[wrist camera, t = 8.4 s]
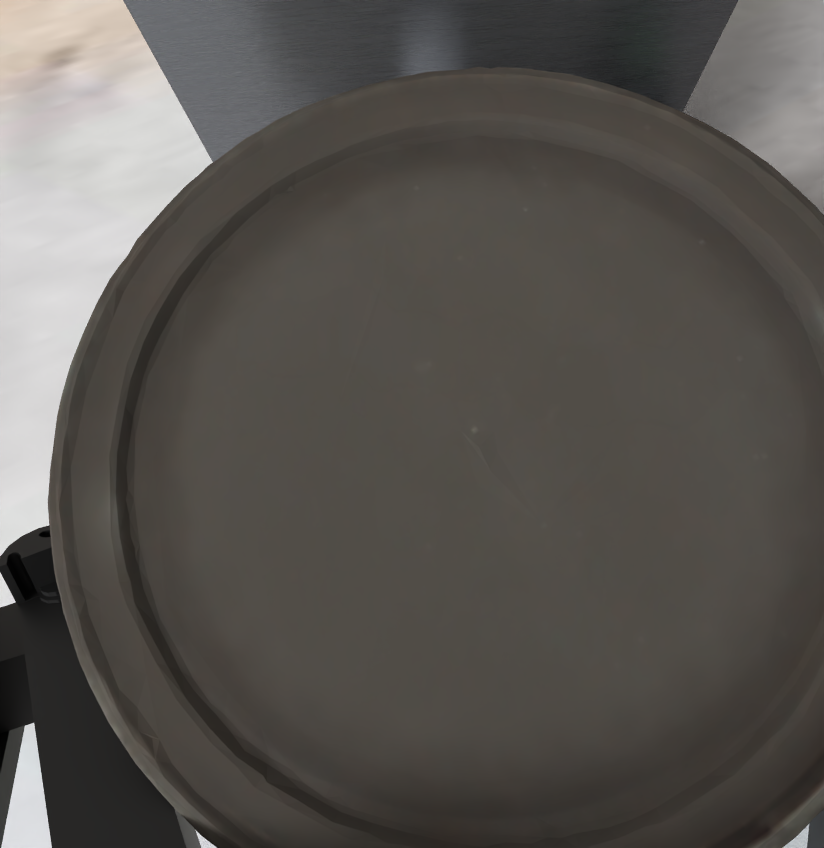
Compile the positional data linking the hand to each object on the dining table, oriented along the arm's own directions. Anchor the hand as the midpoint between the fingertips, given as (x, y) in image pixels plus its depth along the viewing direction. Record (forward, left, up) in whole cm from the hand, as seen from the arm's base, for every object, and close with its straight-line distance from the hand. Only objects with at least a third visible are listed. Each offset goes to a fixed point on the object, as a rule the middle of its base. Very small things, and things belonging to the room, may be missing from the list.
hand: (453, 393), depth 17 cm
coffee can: (-3, +1, -6) cm, 6 cm away
